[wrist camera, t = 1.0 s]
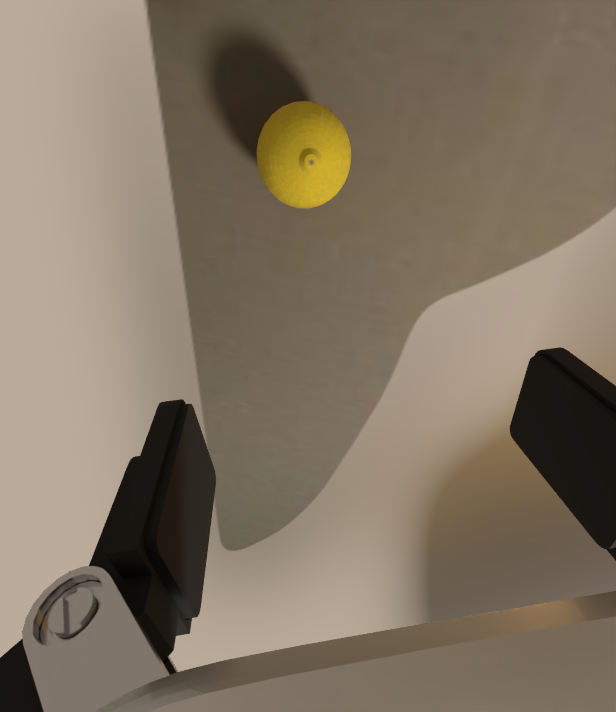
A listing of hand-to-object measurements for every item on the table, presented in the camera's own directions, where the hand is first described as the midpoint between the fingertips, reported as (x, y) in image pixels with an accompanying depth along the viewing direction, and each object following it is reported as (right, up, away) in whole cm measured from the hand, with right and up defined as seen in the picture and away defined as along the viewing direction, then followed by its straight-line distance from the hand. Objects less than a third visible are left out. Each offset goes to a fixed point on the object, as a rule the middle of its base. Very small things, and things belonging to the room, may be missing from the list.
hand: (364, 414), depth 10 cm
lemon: (-2, +16, +15) cm, 22 cm away
